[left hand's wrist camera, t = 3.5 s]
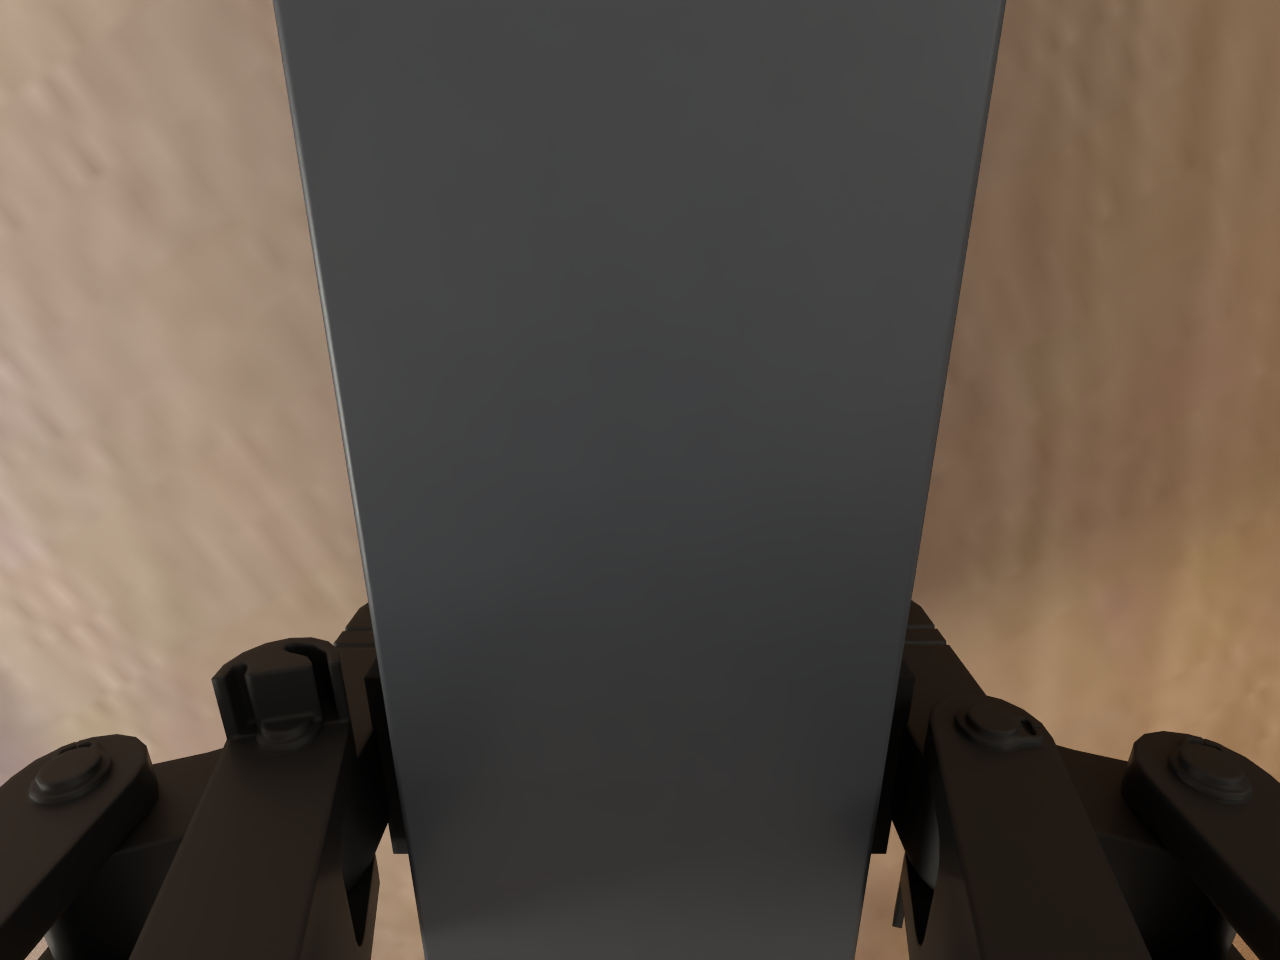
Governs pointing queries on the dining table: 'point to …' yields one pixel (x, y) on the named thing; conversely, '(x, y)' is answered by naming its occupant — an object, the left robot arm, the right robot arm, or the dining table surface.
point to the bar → (639, 438)
